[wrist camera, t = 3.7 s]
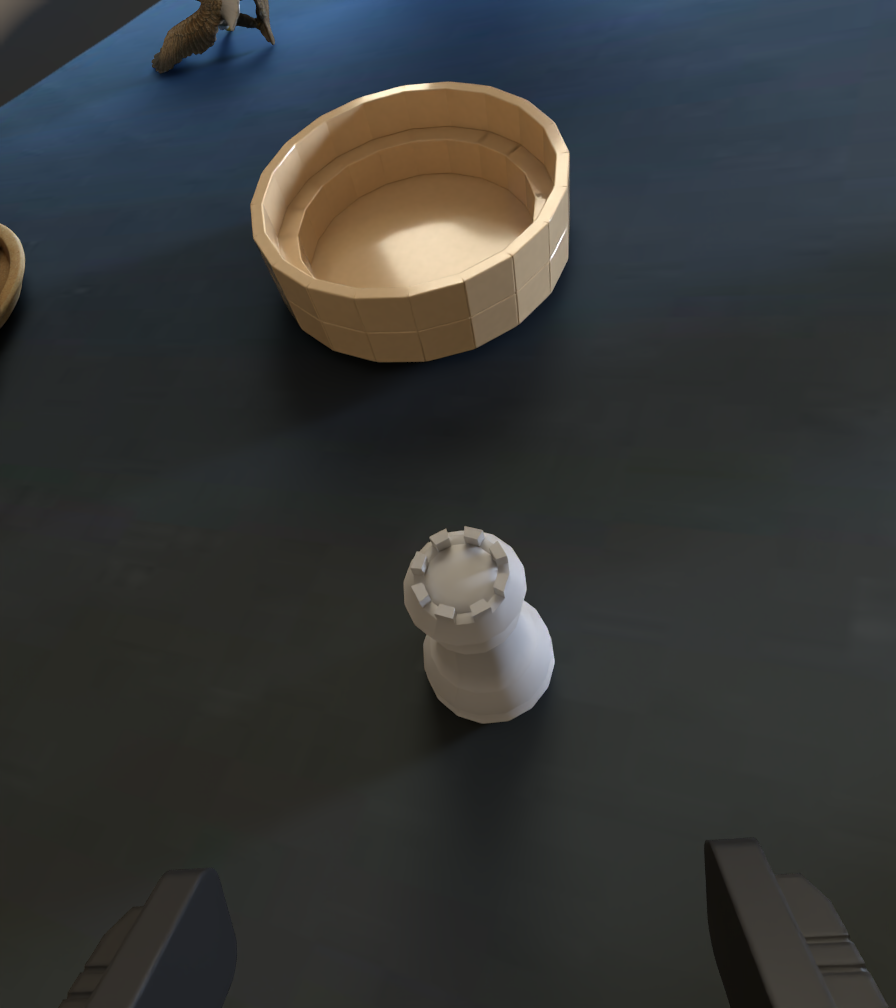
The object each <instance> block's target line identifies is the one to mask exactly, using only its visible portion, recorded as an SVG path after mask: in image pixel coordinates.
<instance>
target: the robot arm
mask: <svg viewBox="0 0 896 1008" xmlns="http://www.w3.org/2000/svg"><path fill="white" fill-rule="evenodd" d="M704 854H705V874H706V894H707V914H708V925H709V932H710V937H711V943H712V947H713V952H714V956H715V959H716V963H717V966H718V969H719V973H720V976H721V979H722V982H723V985H724V988H725V991H726V994H727V997H728V1000H729V1003H730V1006H731V1008H889V1007H888V1005H887V1003H886V1001H885V999H884V998H883V996H882V994H881V992H880V990H879V988H878V987H877V985H876V983H875V981H874V979H873V977H872V976H871V974H870V972H867V970H866V967H865V963H864V961H863V959H862V957H861V956H860V954H859V952H858V950H857V948H856V946H855V945H854V943H853V942H851V940H850V936H849V934H848V932H847V930H846V928H845V926H844V925H843V923H842V921H841V919H840V917H839V915H838V914H837V912H836V910H835V908H834V906H833V904H832V903H831V901H830V900H829V899H828V898H827V897H826V896H824V895H823V894H822V893H821V892H820V891H819V890H818V889H817V888H816V887H815V886H814V885H813V884H811V883H810V882H809V881H808V880H807V879H806V878H805V877H804V876H803V875H802V874H801V873H797V874H778V875H774V873H773V871H772V869H771V867H770V865H769V862H768V860H767V858H766V856H765V854H764V852H763V850H762V848H761V846H760V844H759V842H758V841H757V839H756V838H754V837H753V838H736V839H719V840H706V841H705V845H704ZM236 959H237V943H236V937H235V933H234V929H233V925H232V922H231V918H230V915H229V911H228V908H227V904H226V900H225V897H224V893H223V890H222V886H221V882H220V879H219V876H218V873H217V872H216V870H215V869H213V868H197V869H180V870H169V871H167V872H165V873H164V874H163V875H162V877H161V878H160V880H159V881H158V883H157V885H156V886H155V888H154V890H153V891H152V893H151V895H150V896H149V898H148V900H147V901H146V903H145V905H144V906H140V907H132V908H131V909H130V910H129V911H128V912H127V913H126V914H125V915H124V916H123V917H122V918H121V919H120V920H119V921H118V922H117V923H116V924H115V925H114V926H113V927H112V928H111V929H110V930H109V931H107V932H106V933H105V934H104V936H103V937H102V939H101V941H100V942H99V944H98V945H97V947H96V949H95V950H94V952H93V953H92V955H91V957H90V958H89V960H88V961H87V963H86V964H85V966H84V967H85V969H84V972H83V973H80V974H79V976H78V977H77V979H76V980H75V982H74V984H73V985H72V987H71V988H70V990H69V992H68V997H67V999H66V1000H63V1001H62V1003H61V1004H60V1006H59V1007H58V1008H222V1006H223V1003H224V1001H225V998H226V996H227V993H228V991H229V988H230V986H231V983H232V980H233V976H234V972H235V967H236Z"/></svg>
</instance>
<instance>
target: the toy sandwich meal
mask: <svg viewBox="0 0 896 1008" xmlns="http://www.w3.org/2000/svg"><path fill="white" fill-rule="evenodd" d="M24 271H25V256H24V250H23V247H22V244H21V242H20V240H19V239H18V237H17V236H16V235H15V233H14V232H13V231H11V230H10V229H9V228H7V227H6V226H4V225H2V224H0V328H1V327H2V326H3V325H4V323H5V322H6V321H7V319H8V318H9V316H10V315H11V313H12V311H13V310H14V307H15V305H16V303H17V301H18V299H19V296H20V292H21V288H22V280H23V276H24Z"/></svg>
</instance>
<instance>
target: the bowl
mask: <svg viewBox="0 0 896 1008" xmlns="http://www.w3.org/2000/svg"><path fill="white" fill-rule="evenodd" d="M250 205H251V206H250V207H251V219H252V230H253V239H254V241H255V243H256V245H257V247H258V249H259V251H260V253H261V255H262V257H263V259H264V261H265V264H266V266H267V268H268V270H269V272H270V274H271V276H272V278H273V280H274V282H275V284H276V286H277V288H278V290H279V292H280V294H281V296H282V298H283V300H284V302H285V304H286V306H287V307H288V309H289V310H290V312H291V313H292V315H293V317H294V318H295V320H296V321H297V323H298V324H299V326H300V328H301V329H302V330H303V331H305V332H306V333H308V334H309V335H311V336H312V337H314V338H315V339H317V340H318V341H320V342H321V343H323V344H324V345H326V346H327V347H329V348H330V349H332V350H333V351H336V352H340V353H344V354H347V355H351V356H355V357H359V358H362V359H366V360H370V361H374V362H376V361H377V362H425V361H431V360H435V359H439V358H443V357H447V356H450V355H454V354H458V353H462V352H466V351H469V350H473V349H475V348H478V347H480V346H482V345H483V344H485V343H487V342H489V341H491V340H493V339H494V338H496V337H498V336H500V335H502V334H504V333H505V332H507V331H509V330H511V329H513V328H515V327H516V326H518V324H520V323H521V322H522V321H523V320H524V319H525V318H527V317H528V316H529V315H530V314H531V313H532V312H533V311H534V310H535V309H536V308H537V307H538V306H539V305H540V304H541V303H542V302H543V301H544V300H545V299H546V298H547V297H548V296H549V295H550V294H551V293H552V291H553V289H554V287H555V285H556V283H557V281H558V279H559V277H560V275H561V273H562V271H563V269H564V267H565V265H566V263H567V261H568V253H569V230H570V154H569V151H568V149H567V147H566V144H565V142H564V140H563V138H562V136H561V134H560V132H559V130H558V128H557V126H556V124H555V123H554V121H553V120H551V119H550V118H549V117H548V116H546V115H545V114H544V113H543V112H542V111H540V110H539V109H538V108H537V107H535V106H534V105H533V104H532V103H531V102H529V101H527V100H526V99H523V98H521V97H518V96H515V95H513V94H510V93H507V92H505V91H502V90H499V89H497V88H494V87H491V86H485V85H476V84H468V83H459V82H450V81H449V82H437V83H425V84H414V85H405V86H400V87H396V88H392V89H389V90H385V91H381V92H378V93H374V94H371V95H367V96H363V97H361V98H357V99H355V100H353V101H351V102H349V103H347V104H345V105H343V106H341V107H339V108H337V109H335V110H332V111H330V112H328V113H326V114H324V115H322V116H320V117H319V118H317V119H316V120H315V121H313V122H312V123H311V124H310V125H308V126H307V127H306V128H304V129H303V130H302V131H300V132H299V133H298V134H296V135H295V136H294V137H292V138H291V139H290V140H289V141H287V143H285V144H284V145H283V147H282V148H281V149H280V150H279V152H278V153H277V154H276V155H275V157H274V158H273V159H272V160H271V162H270V163H269V164H268V166H267V167H266V168H265V169H264V171H263V172H262V173H261V176H260V179H259V182H258V185H257V187H256V190H255V193H254V196H253V199H252V201H251V204H250Z"/></svg>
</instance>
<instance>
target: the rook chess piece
mask: <svg viewBox="0 0 896 1008" xmlns="http://www.w3.org/2000/svg"><path fill="white" fill-rule="evenodd" d="M429 538H430V540H431V542H429V543H427V544H426V545H425V546H424V547H423V549H422V550H421V551H420V552H418V551H416V554H415V557H414V558H413V560H412V561H411V564H410V566H409V569H408V571H407V574H406V577H405V579H404V604H405V606H406V608H407V610H408V612H409V614H410V616H411V618H412V620H413V622H414V624H415V625H416V626H417V627H418V628H419V629H421V630H422V631H423V632H424V633H426V634H427V635H426V638H425V640H424V644H423V651H424V669H425V671H426V673H427V678H428V680H429V682H430V684H431V686H432V688H433V690H434V692H435V694H436V696H437V698H438V700H440V701H441V702H442V703H443V704H444V705H445V706H447V707H448V708H449V709H450V710H451V711H452V712H454V713H455V714H456V715H457V716H459V717H463V718H466V719H469V720H472V721H475V722H479V723H482V724H484V723H494V722H503V721H510V720H511V719H513V718H515V717H517V716H519V715H520V714H522V713H524V712H526V711H528V710H529V709H531V708H532V707H533V706H534V705H535V704H536V702H537V701H538V700H539V698H540V697H541V696H542V695H543V693H544V692H545V691H546V689H547V688H548V686H549V682H550V678H551V674H552V671H553V667H554V663H555V661H554V655H553V648H552V641H551V637H550V635H549V631H548V629H547V627H546V625H545V624H544V622H543V620H542V619H541V617H540V616H539V614H538V612H537V611H536V609H535V608H533V607H532V606H531V605H529V604H528V603H526V602H525V601H524V597H525V593H526V590H527V588H526V580H525V573H524V566H523V565H522V563H521V562H520V560H519V558H518V557H517V555H516V553H515V552H514V550H513V549H512V547H510V546H509V545H507V544H506V543H504V542H503V541H502V540H500V539H499V538H497V537H496V536H494V535H492V534H488V533H484V532H483V530H480V529H476V528H471V527H467V526H465V528H464V531H456V532H449V533H447V530H446V529H444V530H442V531H440V532H438V533H436V534H434V535H433V536H431V537H429Z"/></svg>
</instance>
